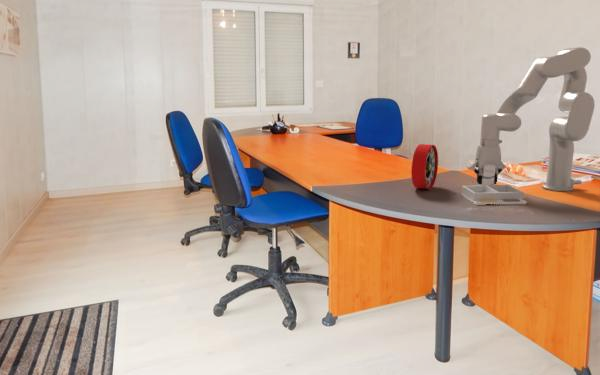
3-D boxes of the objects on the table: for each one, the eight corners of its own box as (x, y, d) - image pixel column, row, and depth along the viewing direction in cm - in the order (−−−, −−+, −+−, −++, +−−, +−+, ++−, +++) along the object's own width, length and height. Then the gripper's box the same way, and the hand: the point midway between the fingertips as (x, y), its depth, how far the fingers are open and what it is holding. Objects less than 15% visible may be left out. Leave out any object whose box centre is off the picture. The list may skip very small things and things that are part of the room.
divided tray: (507, 193, 212) (508, 184, 211) (526, 203, 195) (527, 194, 194) (461, 194, 211) (461, 185, 210) (476, 205, 195) (476, 195, 194)
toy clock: (423, 193, 215) (425, 147, 210) (410, 192, 218) (412, 147, 213) (437, 184, 231) (439, 142, 227) (424, 183, 234) (426, 141, 230)
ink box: (494, 192, 215) (495, 165, 212) (481, 192, 216) (483, 165, 213) (490, 188, 223) (492, 162, 220) (478, 187, 224) (480, 161, 221)
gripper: (505, 141, 219) (502, 181, 223) (466, 142, 218) (464, 182, 222) (513, 143, 211) (509, 185, 215) (473, 144, 211) (470, 185, 215)
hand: (486, 183), depth 219 cm, fingers closed on ink box, 5 cm apart
